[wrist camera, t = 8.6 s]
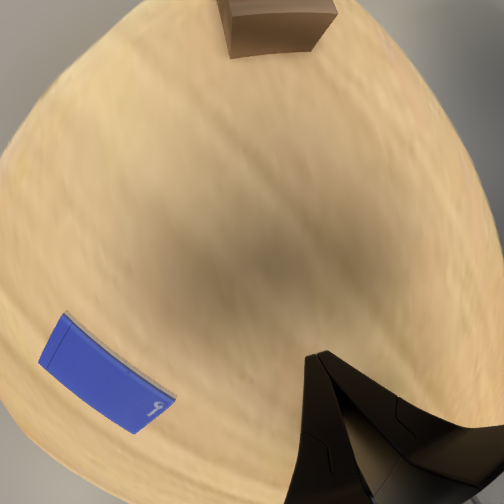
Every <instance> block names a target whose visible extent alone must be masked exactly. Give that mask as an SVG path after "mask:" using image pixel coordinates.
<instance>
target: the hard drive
mask: <svg viewBox="0 0 504 504" xmlns="http://www.w3.org/2000/svg"><path fill="white" fill-rule="evenodd" d="M38 363H39V364H40V365H41V366H42V367H43V368H44V369H45V370H47V371H48V372H49V373H50V374H51V375H52V376H54V377H55V378H56V379H57V380H58V381H59V382H61V383H62V384H63V385H64V386H65V387H67V388H68V389H69V390H70V391H72V392H73V393H74V394H75V395H76V396H78V397H79V398H80V399H82V400H83V401H84V402H86V403H87V404H88V405H90V406H91V407H92V408H94V409H95V410H97V411H98V412H100V413H101V414H102V415H104V416H105V417H107V418H108V419H110V420H111V421H113V422H114V423H116V424H118V425H119V426H121V427H122V428H124V429H126V430H127V431H129V432H130V433H132V434H136V433H137V432H139V431H140V430H141V429H143V428H144V427H145V426H146V425H148V424H149V423H150V422H151V421H153V420H154V419H155V418H156V417H158V416H159V415H160V414H162V413H163V412H164V411H165V410H166V409H168V408H169V407H170V406H171V405H172V404H173V403H174V402H175V400H176V396H177V395H175V394H174V393H172V392H170V391H169V390H167V389H166V388H164V387H163V386H161V385H160V384H158V383H157V382H155V381H154V380H152V379H151V378H149V377H148V376H146V375H145V374H144V373H142V372H141V371H139V370H138V369H137V368H135V367H134V366H132V365H131V364H130V363H128V362H127V361H126V360H124V359H123V358H122V357H120V356H119V355H118V354H117V353H115V352H114V351H113V350H111V349H110V348H109V347H108V346H106V345H105V344H104V343H103V342H102V341H100V340H99V339H98V338H97V337H95V336H94V335H93V334H92V333H91V332H90V331H88V330H87V329H86V328H85V327H84V326H83V325H82V324H81V323H79V322H78V321H77V320H76V319H75V318H74V317H73V316H72V315H71V314H70V313H69V312H67V311H65V312H64V313H63V314H62V316H61V317H60V319H59V321H58V323H57V325H56V327H55V328H54V330H53V332H52V334H51V336H50V338H49V340H48V342H47V344H46V346H45V348H44V350H43V352H42V355H41V357H40V359H39V361H38Z"/></svg>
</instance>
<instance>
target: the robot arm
mask: <svg viewBox="0 0 504 504" xmlns="http://www.w3.org/2000/svg"><path fill="white" fill-rule="evenodd" d="M284 504H504V425H499V426H491V427H481V428H466V427H461V426H458V425H455V424H453V423H451V422H448V421H446V420H443V419H441V418H439V417H436V416H434V415H432V414H430V413H428V412H425V411H423V410H421V409H419V408H417V407H416V406H414V405H412V404H410V403H409V402H407V401H405V400H404V399H402V398H400V397H398V396H397V395H395V394H394V393H392V392H391V391H389V390H388V389H386V388H384V387H383V386H381V385H380V384H378V383H377V382H375V381H374V380H372V379H370V378H369V377H367V376H366V375H364V374H363V373H361V372H360V371H358V370H357V369H355V368H354V367H352V366H351V365H349V364H348V363H346V362H345V361H343V360H342V359H340V358H339V357H337V356H336V355H334V354H333V353H331V352H330V351H327V350H326V351H323V352H319V353H317V355H316V354H312V355H309V356H306V357H305V366H304V388H303V405H302V420H301V433H300V443H299V451H298V457H297V461H296V465H295V469H294V473H293V476H292V479H291V483H290V486H289V489H288V492H287V495H286V499H285V501H284Z"/></svg>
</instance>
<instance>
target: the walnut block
mask: <svg viewBox="0 0 504 504" xmlns="http://www.w3.org/2000/svg"><path fill="white" fill-rule="evenodd" d="M217 3H218V7H219V12H220V16H221V20H222V24H223V29H224V33H225V37H226V42H227V46H228V51H229V55H230V59H234V58H240V57H248V56H256V55H265V54H276V53H290V52H311V50H312V49H313V48H314V46H315V45H316V43H317V42H318V41H319V39H320V38H321V36H322V35H323V34H324V32H325V31H326V30H327V28H328V27H329V26H330V24H331V23H332V21H333V20H334V19H335V18H336V16H337V15H338V12H337V10H336V7H335V5H334V2H333V0H217Z"/></svg>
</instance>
